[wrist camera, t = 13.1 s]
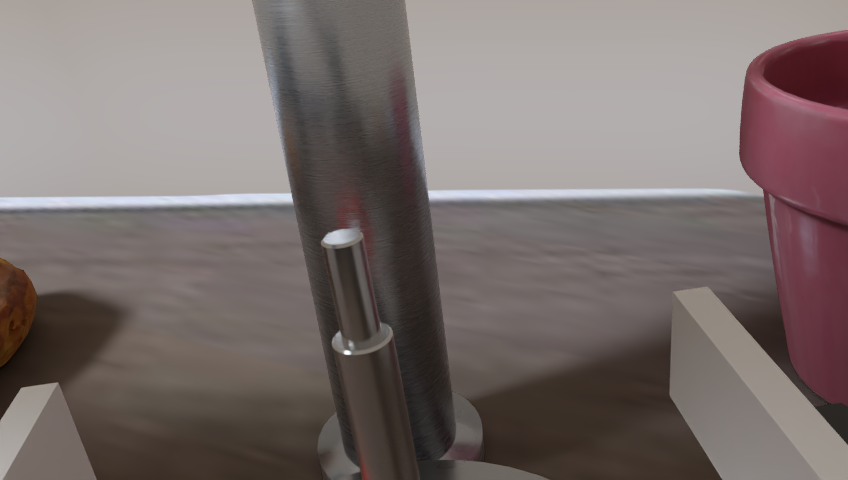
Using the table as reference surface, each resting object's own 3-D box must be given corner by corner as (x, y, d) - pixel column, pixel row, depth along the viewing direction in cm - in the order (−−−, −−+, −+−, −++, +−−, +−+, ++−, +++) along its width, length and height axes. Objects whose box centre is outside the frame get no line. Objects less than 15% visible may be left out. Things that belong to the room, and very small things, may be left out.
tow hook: (59, 768, 19) (399, 912, 15) (-188, 321, 14) (246, 380, 10) (249, 517, 26) (514, 576, 22) (135, 156, 20) (461, 154, 17)
